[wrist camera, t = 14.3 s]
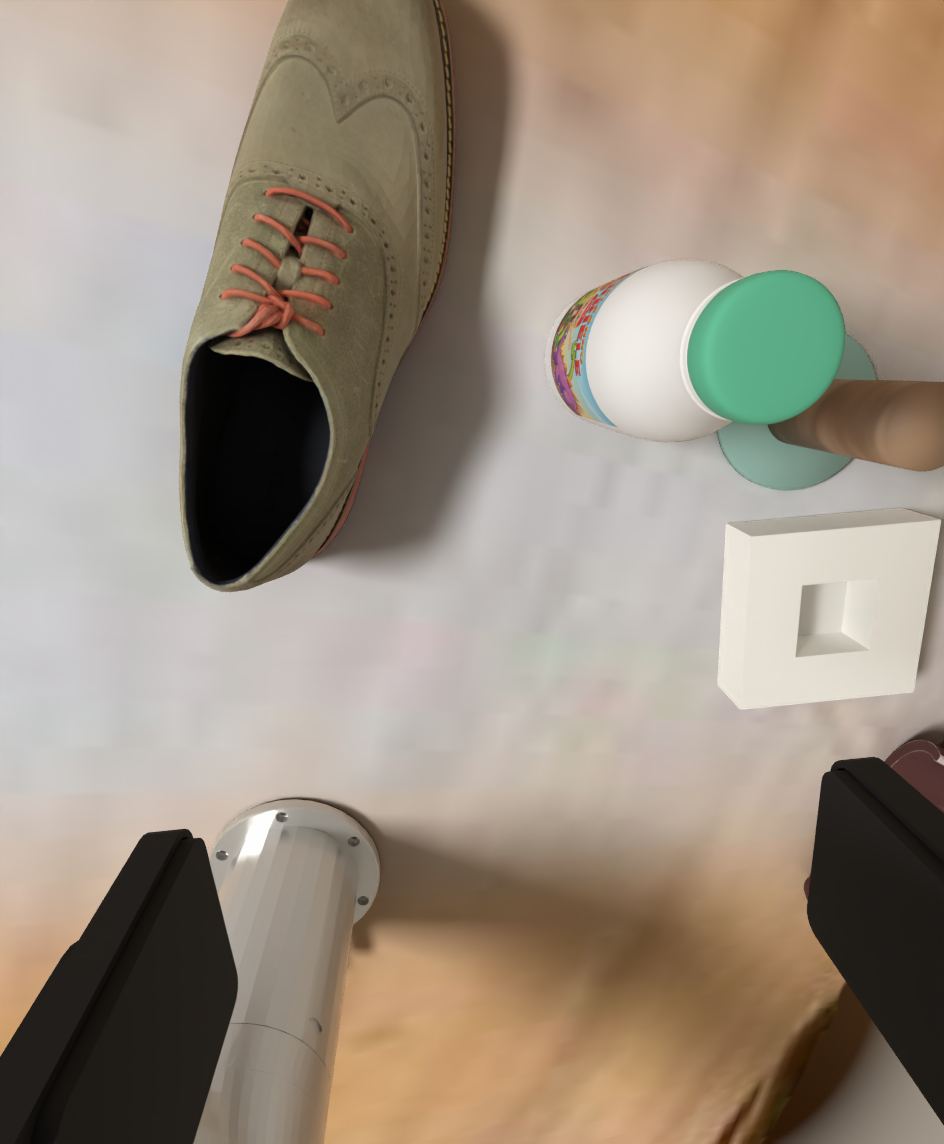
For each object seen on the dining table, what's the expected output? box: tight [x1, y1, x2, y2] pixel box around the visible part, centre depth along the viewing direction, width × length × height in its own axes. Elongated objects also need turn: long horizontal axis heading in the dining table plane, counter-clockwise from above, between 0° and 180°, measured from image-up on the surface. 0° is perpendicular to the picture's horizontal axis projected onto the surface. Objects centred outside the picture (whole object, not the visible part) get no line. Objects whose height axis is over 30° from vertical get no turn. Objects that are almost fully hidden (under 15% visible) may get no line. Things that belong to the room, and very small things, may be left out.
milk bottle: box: [545, 259, 845, 442], centre depth 29 cm, size 8×8×20 cm
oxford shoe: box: [179, 0, 455, 592], centre depth 31 cm, size 11×32×12 cm, turn 167°
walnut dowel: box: [768, 379, 944, 471], centre depth 34 cm, size 4×4×11 cm
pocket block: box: [718, 508, 941, 710], centre depth 43 cm, size 12×12×4 cm
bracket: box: [804, 740, 944, 900], centre depth 46 cm, size 6×17×10 cm, turn 158°
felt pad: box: [717, 333, 876, 490], centre depth 40 cm, size 10×10×1 cm
